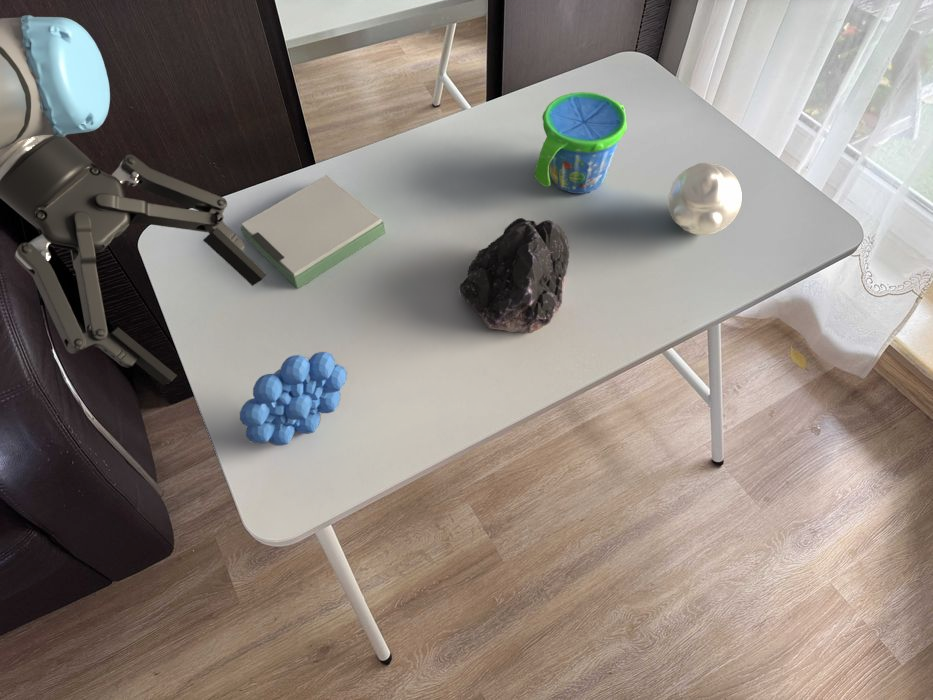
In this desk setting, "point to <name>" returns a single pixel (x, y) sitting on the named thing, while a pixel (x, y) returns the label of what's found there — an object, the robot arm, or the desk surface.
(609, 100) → the snack cup
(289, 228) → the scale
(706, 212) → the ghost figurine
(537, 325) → the dark rock
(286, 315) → the desk surface
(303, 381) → the grapes
